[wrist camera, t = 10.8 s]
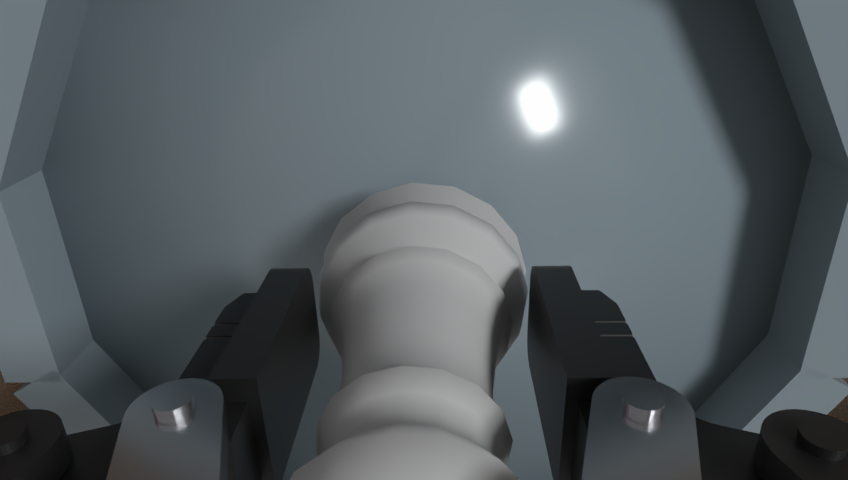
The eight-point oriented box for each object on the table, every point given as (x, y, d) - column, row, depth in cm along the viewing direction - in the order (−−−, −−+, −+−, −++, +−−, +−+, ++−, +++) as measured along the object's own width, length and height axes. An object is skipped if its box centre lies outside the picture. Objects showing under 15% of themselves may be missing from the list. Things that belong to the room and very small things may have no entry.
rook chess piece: (351, 148, 13) (224, 406, 5) (553, 207, 13) (694, 520, 6) (308, 324, 14) (169, 694, 7) (486, 370, 15) (528, 764, 8)
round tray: (962, -277, 11) (1100, -342, 9) (747, 522, 19) (788, 597, 17) (-115, -230, 12) (-250, -278, 9) (127, 520, 20) (86, 592, 18)
